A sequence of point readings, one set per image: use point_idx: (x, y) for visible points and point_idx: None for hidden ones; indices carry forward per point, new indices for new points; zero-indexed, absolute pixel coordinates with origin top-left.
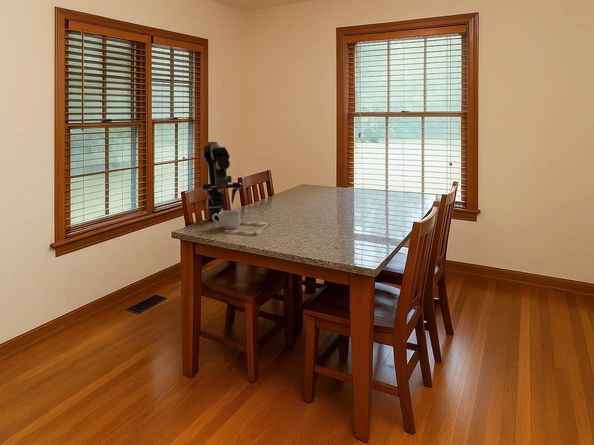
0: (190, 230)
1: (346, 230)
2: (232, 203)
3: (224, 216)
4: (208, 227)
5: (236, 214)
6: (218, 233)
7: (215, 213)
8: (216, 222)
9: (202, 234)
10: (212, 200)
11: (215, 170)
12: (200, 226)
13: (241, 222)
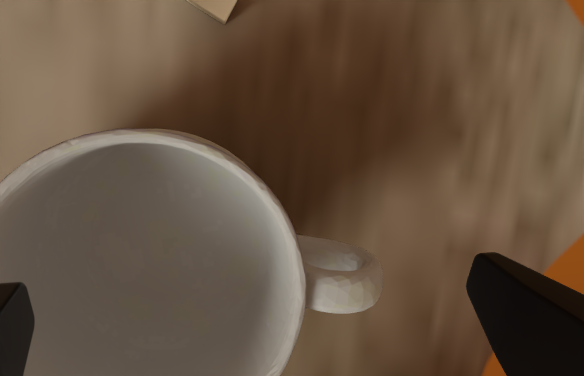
0: (533, 191)
1: None
2: (14, 288)
3: (234, 159)
4: None
5: (37, 368)
6: (308, 3)
7: (351, 302)
8: (315, 240)
9: (463, 6)
10: (576, 298)
11: None
12: (431, 320)
13: None
